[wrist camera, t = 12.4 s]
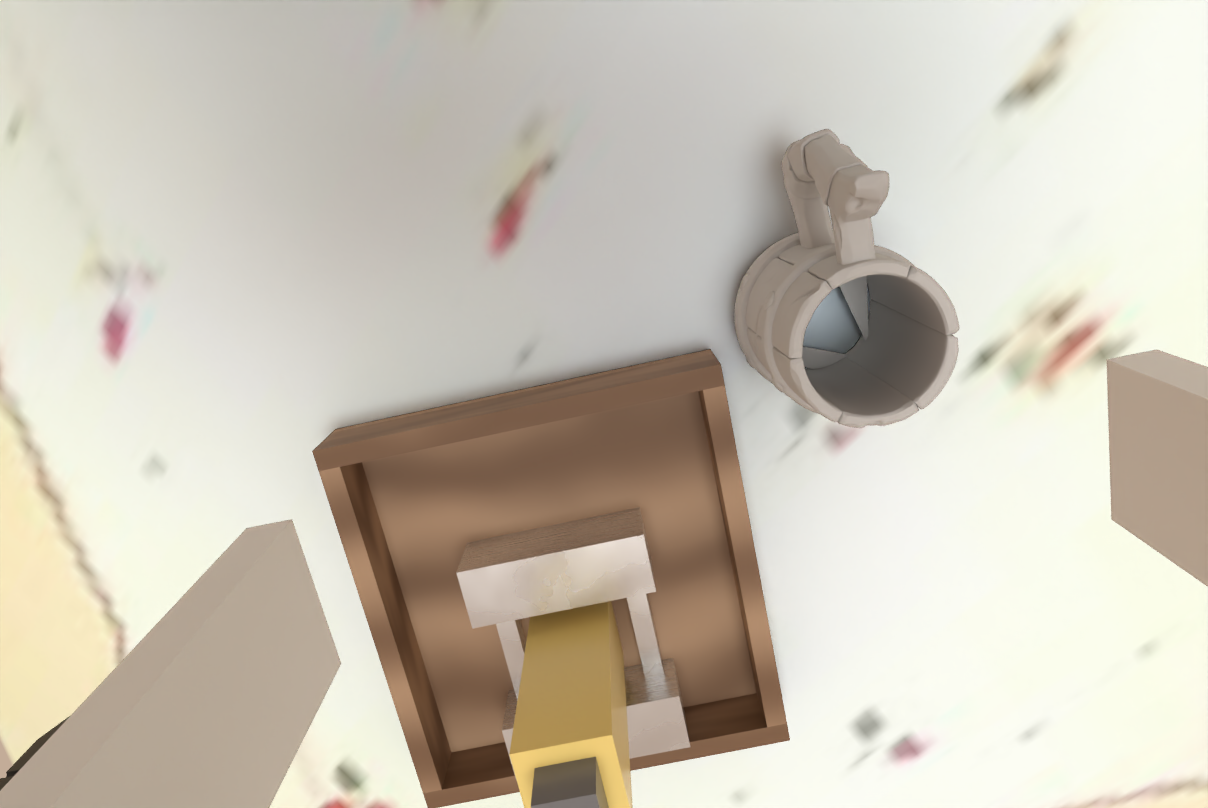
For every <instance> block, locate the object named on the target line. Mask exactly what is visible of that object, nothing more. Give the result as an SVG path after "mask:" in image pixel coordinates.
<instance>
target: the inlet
mask: <svg viewBox="0 0 1208 808" xmlns="http://www.w3.org/2000/svg"><path fill="white" fill-rule="evenodd" d="M456 573H457V577H458V580H459V584H460V587H461V591H462V594H463V598H464V601H465V605H466V608H467V612H468V615H469V619H470V622H471V626H472V629H473V628H478V627H483V626H488V625H493V624H496V626H497V630H498V633H499V637H500V641H501V644H502V648H503V651H504V655H505V658H506V662H507V666H508V669H509V673H510V676H511V680H512V683H513V687H514V689H512V690H509V692H508V697H507V703H506V709H505V715H504V721H503V726H502V733H503V737H504V740H505V743H506V747H507V750H508V754H509V753H510V747H511V740H512V734H513V727H514V720H515V714H516V707H517V701H518V694H519V687H520V681H521V674H522V668H523V661H524V654H525V648H526V639H525V636H524V632H523V628H522V625H521V621H520V619H523V618H528V617H533V616H538V615H543V614H548V613H553V612H558V611H563V610H568V609H573V608H578V607H583V606H588V605H593V604H598V603H603V602H608V601H613V600H618V599H623V598H627V602H628V606H629V610H630V615H631V619H632V623H633V628H634V632H635V636H636V641H637V645H638V649H639V654H640V658H641V662H642V664H639V665H634V666H629V667H624V673H625V690H626V707H627V724H628V741H629V758H630V759H631V758H636V757H641V756H647V755H652V754H657V753H662V752H667V751H673V750H678V749H683V748H688V747H690V741H689V735H688V729H687V724H686V718H685V712H684V706H683V701H682V697H681V692H680V688H679V683H678V678H677V674H676V669H675V665H674V660H673V658H669V659H664V660H662V658H661V654H660V649H659V645H658V640H657V636H656V631H655V627H654V622H653V618H652V614H651V609H650V605H649V600H648V596H647V593H652V592H656V587H655V581H654V574H653V567H652V560H651V556H650V551H649V547H648V542H647V538H646V533H645V529H644V524H643V519H642V515H641V510H640V507H638V508H633V509H628V510H623V511H618V512H614V513H609V514H604V515H599V516H594V517H589V518H584V519H580V520H575V521H570V522H565V523H560V524H555V525H550V526H546V527H541V528H536V529H531V530H526V531H521V532H516V533H511V534H507V535H502V536H497V537H492V538H487V539H482V540H477V541H473V542H468V543H467V545H466V547H465V550H464V553H463V556H462V558H461V561H460V564H459V567H458V570H457V572H456ZM509 757H510V755H509ZM510 761H511V758H510ZM511 764H512V762H511ZM512 768H513V766H512ZM513 771H514V769H513ZM514 775H515V773H514ZM515 778H516V776H515Z"/></svg>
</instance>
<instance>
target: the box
mask: <svg viewBox="0 0 1208 808" xmlns="http://www.w3.org/2000/svg"><path fill="white" fill-rule="evenodd" d="M312 452H313V455H314V458H315V461H316V464H317V467H318V470H319V473H320V476H321V479H322V483H323V486H324V489H325V492H326V495H327V498H328V501H329V504H330V507H331V510H332V513H333V516H334V520H335V523H336V526H337V529H338V532H339V535H340V538H341V541H342V544H343V547H344V550H345V553H346V557H347V560H348V563H349V566H350V569H351V572H352V575H353V578H354V581H355V584H356V587H357V590H358V594H359V597H360V600H361V603H362V606H363V609H364V612H365V615H366V618H367V621H368V624H369V627H370V631H371V634H372V637H373V640H374V643H375V646H376V649H377V652H378V655H379V658H380V661H381V664H382V668H383V671H384V674H385V677H386V680H387V683H388V686H389V689H390V692H391V695H392V698H393V701H394V705H395V708H396V711H397V714H398V717H399V720H400V723H401V726H402V729H403V732H404V735H405V739H406V742H407V745H408V748H409V751H410V754H411V757H412V760H413V763H414V766H415V769H416V772H417V776H418V779H419V782H420V785H421V788H422V791H423V794H424V797H425V800H426V803H427V806H428V808H438V807H443V806H448V805H454V804H459V803H464V802H469V801H474V800H480V799H485V798H490V797H495V796H501V795H506V794H511V793H516V792H520V790H519V787H518V783H517V780H516V778H515V775H514V771H513V768H512V764H511V761H510V757H509V754H508V750H507V747H506V743H505V740H504V737H503V733H502V726H503V721H504V715H505V709H506V703H507V697H508V692H509V690H512V689H514V687H513V683H512V680H511V676H510V673H509V669H508V666H507V662H506V658H505V655H504V651H503V648H502V644H501V641H500V637H499V633H498V630H497V626H496V624H493V625H488V626H483V627H478V628H473V629H472V626H471V622H470V619H469V615H468V612H467V608H466V605H465V601H464V598H463V594H462V591H461V587H460V584H459V580H458V577H457V573H456V572H457V570H458V567H459V564H460V561H461V558H462V556H463V553H464V550H465V547H466V545H467V543H468V542H473V541H477V540H482V539H487V538H492V537H497V536H502V535H507V534H511V533H516V532H521V531H526V530H531V529H536V528H541V527H546V526H550V525H555V524H560V523H565V522H570V521H575V520H580V519H584V518H589V517H594V516H599V515H604V514H609V513H614V512H618V511H623V510H628V509H633V508H638V507H640V510H641V515H642V519H643V524H644V529H645V533H646V538H647V542H648V547H649V551H650V556H651V560H652V567H653V574H654V581H655V587H656V592H652V593H647V596H648V600H649V605H650V609H651V614H652V618H653V622H654V627H655V631H656V636H657V640H658V645H659V649H660V654H661V658H662V660H664V659H669V658H673V660H674V665H675V669H676V674H677V678H678V683H679V688H680V692H681V697H682V701H683V706H684V712H685V718H686V724H687V729H688V735H689V741H690V747H688V748H683V749H678V750H673V751H667V752H662V753H657V754H652V755H647V756H641V757H636V758H631V759H630V771H631V770H637V769H642V768H647V767H652V766H658V765H663V764H668V763H673V762H679V761H684V760H689V759H694V758H700V757H705V756H710V755H715V754H720V753H726V752H731V751H736V750H741V749H747V748H752V747H757V746H762V745H768V744H773V743H778V742H783V741H788V740H790V738H789V733H788V727H787V722H786V716H785V711H784V705H783V700H782V694H781V689H780V684H779V678H778V673H777V667H776V662H775V656H774V651H773V646H772V640H771V635H770V629H769V624H768V618H767V613H766V608H765V602H764V597H763V591H762V586H761V580H760V575H759V570H758V564H757V559H756V553H755V548H754V542H753V537H752V531H751V526H750V521H749V515H748V510H747V504H746V499H745V493H744V488H743V483H742V477H741V472H740V466H739V461H738V455H737V450H736V445H735V439H734V434H733V428H732V423H731V417H730V412H729V407H728V401H727V396H726V390H725V385H724V379H723V374H722V368H721V364H720V363H719V361H718V360H717V358H716V357H715V355H714V354H713V352H712V351H711V350H710V349H709V350H704V351H699V352H695V353H690V354H685V355H681V356H676V357H671V358H667V359H662V360H657V361H652V362H648V363H643V364H638V365H634V366H629V367H624V368H620V369H615V370H610V371H606V372H601V373H596V374H592V375H587V376H582V377H578V378H573V379H568V380H564V381H559V382H554V383H550V384H545V385H540V386H536V387H531V388H526V389H521V390H517V391H512V392H507V393H503V394H498V395H493V396H489V397H484V398H479V399H475V400H470V401H465V402H461V403H456V404H451V405H447V406H442V407H437V408H433V409H428V410H423V411H419V412H414V413H409V414H405V415H400V416H395V417H391V418H386V419H381V420H376V421H372V422H367V423H362V424H358V425H353V426H348V427H344V428H339V429H335V430H334V431H333V432H332V433H331V434H330V435H329V436H328V437H327V438H326V439H325V440H324V441H323V442H322V443H320V444H319V445H318V446H317V447H316V448H315V449H314V450H313V451H312ZM611 602H612V607H613V611H614V615H615V619H616V624H617V628H618V632H619V636H620V641H621V645H622V649H623V656H624V667H629V666H634V665H639V664H642V662H641V658H640V654H639V649H638V645H637V641H636V636H635V632H634V628H633V623H632V619H631V615H630V610H629V606H628V602H627V598H623V599H618V600H613V601H611ZM520 621H521V625H522V628H523V632H524V636H525V639H526V641H527V635H528V628H529V621H530V617H528V618H523V619H520Z"/></svg>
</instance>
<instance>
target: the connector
mask: <svg viewBox="0 0 1208 808" xmlns="http://www.w3.org/2000/svg"><path fill="white" fill-rule="evenodd" d="M509 755H510V758H511V762H512V766H513V769H514V773H515V776H516V780H517V783H518V787H519V790H520V794H521V797H522V801H523V804H524V808H632V792H631V775H630V758H629V741H628V724H627V707H626V690H625V673H624V656H623V649H622V645H621V641H620V636H619V632H618V628H617V624H616V619H615V615H614V611H613V607H612V602H611V601H608V602H603V603H598V604H593V605H588V606H583V607H578V608H573V609H568V610H563V611H558V612H553V613H548V614H543V615H538V616H533V617H530V621H529V628H528V635H527V641H526V648H525V654H524V661H523V668H522V674H521V681H520V687H519V694H518V701H517V707H516V714H515V720H514V727H513V734H512V740H511V747H510V753H509Z"/></svg>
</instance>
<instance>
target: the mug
mask: <svg viewBox="0 0 1208 808" xmlns="http://www.w3.org/2000/svg"><path fill="white" fill-rule="evenodd" d="M781 165H782V170H783V174H784V185H785V189H786V192H787V194H788V197H789V200H790V203H791V206H792V209H793V213H794V216H795V220H796V224H797V227H798V232H799V233H795V234H792V235H790V236H787V237H785V238H783V239H781V240H780V241H778V242H776V243H774V244H773V245H771V246H770V247H769V248H767V249H766V250H765V251H764V252H763V253H762V254H761V255H760V256H759V257H758V258H757V259H756V260H755V261H754V262H753V264H752V265H751V266H750V268H749V269H748V271H747V272H746V274H745V276H744V277H743V279H742V281H741V284H740V287H739V290H738V293H737V297H736V302H735V314H734V322H735V330H736V335H737V338H738V341H739V344H740V347H741V349H742V351H743V353H744V354H745V356H746V359H747V362H748V363H749V365H750V366H751V367H753V368H755V369H756V370H757V371H758V372H759V373H760V374H761V375H762V376H763V377H764V378H766V379H767V380H768V381H770V382H771V383H773V384H774V386H775V387H776V388H777V389H778V390H779V391H781V392H783V393H785V394H786V395H787V396H789V397H790V398H791V399H792V400H794V401H795V402H796V403H798V404H799V405H801V406H803V407H804V408H806V409H808V410H811V411H813V412H816V413H818V414H821V415H823V416H824V417H826V418H828V419H829V420H831V421H834V422H838V423H839V424H842V425H845V426H850V427H856V428H863V427H865V426H867V425H878V426H884V425H889V424H892V423H895V422H899V421H902V420H904V419H907V418H908V417H910V416H912V415H913V414H915V413H916V412H918V411H919V409H918V407H919V408H920V409H924V408H925V407H926V406H928V405H929V404H930V403H931V402H932V401H933V400H934V399H935V398H936V397H937V396H938V394H939V393H940V392H941V391H942V389H943V388H944V386H945V385H946V383H947V381H948V380H949V378H950V376H951V374H952V372H953V369H954V367H955V364H956V360H957V356H958V338H957V337H954V336H953V335H952V334H954V333H956V332H957V331H958V330H959V323H958V318H957V315H956V312H955V309H954V306H953V304H952V302H951V300H950V299H949V297H948V295H947V294H946V292H945V291H944V290H943V288H942V287H941V286H940V285H939V284H938V283H937V282H936V281H935V280H934V279H933V278H932V277H931V276H929V275H928V274H927V273H925V272H924V271H922V270H920V269H918V268H917V267H915V266H914V265H913V264H912V263H911V262H909V261H908V260H907V259H905V258H904V257H902V256H901V255H899V254H897V253H895V252H893V251H891V250H889V249H886V248H883V247H879V246H876V245H874V239H873V230H872V224H871V217H872V216H874V215H875V214H877V212H878V210H879V208H880V207H881V205H882V204H883V202H884V201H885V199H886V197H887V195H888V190H889V174H888V173H887V172H886V171H872V170H871V169H869V168H868V167H867V165H866V164H864V163H863V162H862V161H861V160H860V159H859V158H857V157H856V156H855V155H854V153H853V152H852V150H851V149H850V147H849V146H846V145H844V144H840V142H839V139H838V137H837V136H836V135H835V134H834V133H833V132H832V131H831V130H829V129H824V130H821V131H818V132H815V133H813V134H810V135H808V136H806V137H804V138H803V139H801V140H798V141H796V142H794V143H792V144H791V145H790V146H789V147H788V148H787V150H786V152H785V155H784V157H783V160H782V163H781ZM827 206H828V207H829V209H830V214H831V220H832V225H831V221H830V216H829V212H828V208H827ZM832 226H833V230H832ZM867 284H868V288H869V295H870V298H871V300H870V314H869V319H868V305H867ZM837 287H840V289H841V291H842V293H843V295H844V297H845V299H846V302H847V304H848V306H849V308H850V310H851V312H852V314H853V316H854V318H855V320H856V322H857V324H858V326H859V329H860V331H861V333H862V336H861V337H860V339H859V341H858V342H857V343H856V345H855V346H854V347H853V348H852V349H851V350H849V351H848V352H847V353H846V354H842V353H837V352H831V351H825V350H820V349H814V348H809V347H803V340H804V335H805V331H806V328H807V325H808V323H809V321H810V319H811V317H812V315H813V313H814V311H815V310H816V308H817V307H818V305H819V304H820V303H821V302H822V300H823V299H824V298H825V297H826V296H827V295H828V294H829V293H830V292H831V291H832V289H835V288H837ZM804 366H805V367H807V368H809V369H805V367H804Z"/></svg>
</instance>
